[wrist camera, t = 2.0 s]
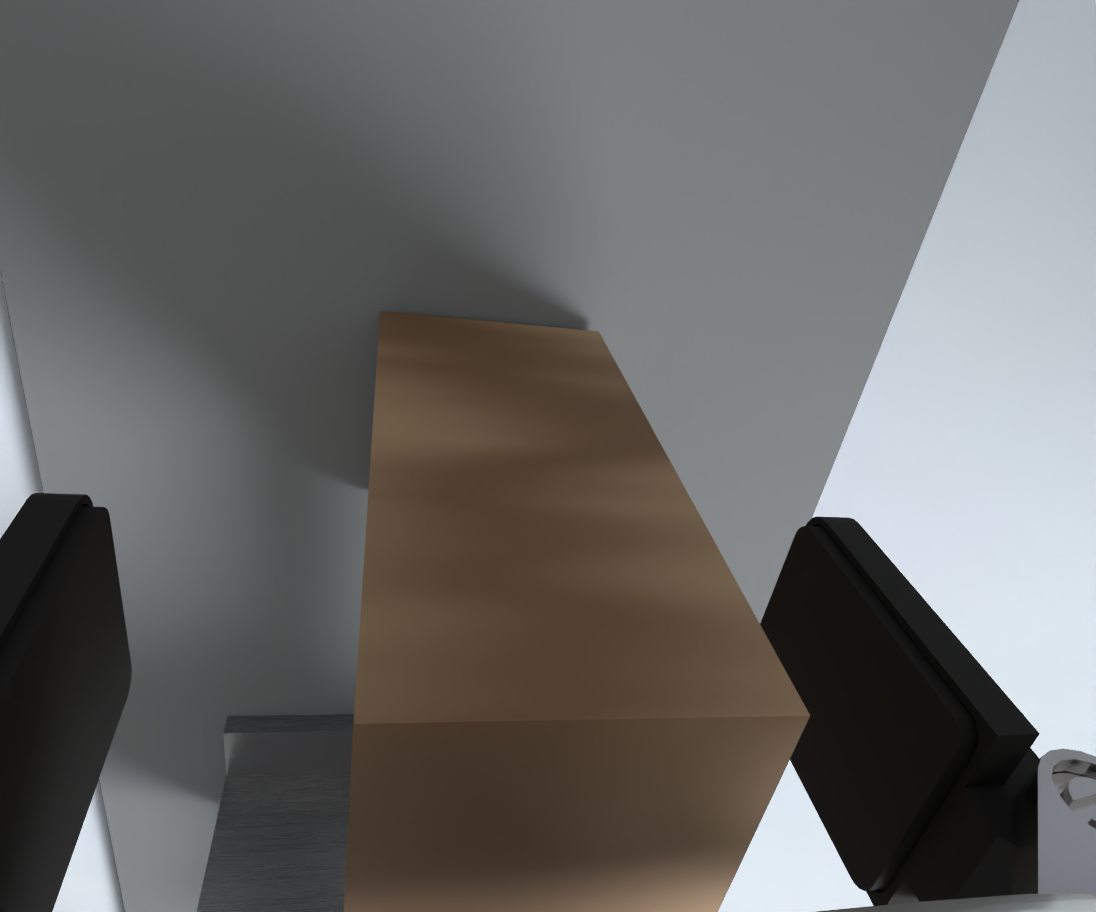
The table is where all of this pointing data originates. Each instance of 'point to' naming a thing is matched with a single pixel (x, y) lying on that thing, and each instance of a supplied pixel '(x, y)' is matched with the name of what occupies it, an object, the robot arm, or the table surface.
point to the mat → (430, 288)
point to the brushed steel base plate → (281, 816)
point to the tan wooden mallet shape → (546, 644)
